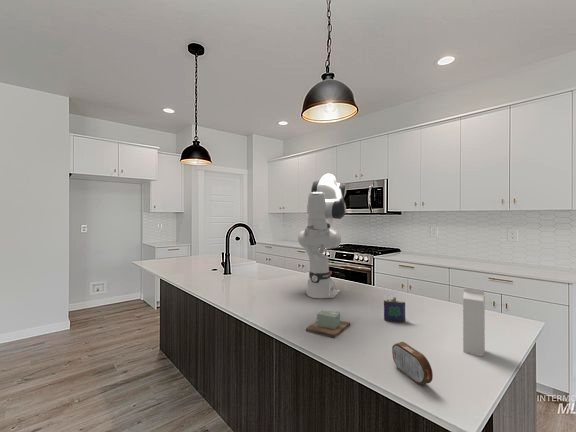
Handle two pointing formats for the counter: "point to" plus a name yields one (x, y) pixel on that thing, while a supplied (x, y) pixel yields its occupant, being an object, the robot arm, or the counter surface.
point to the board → (328, 329)
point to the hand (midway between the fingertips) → (317, 254)
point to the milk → (474, 321)
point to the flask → (394, 310)
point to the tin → (412, 363)
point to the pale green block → (328, 319)
